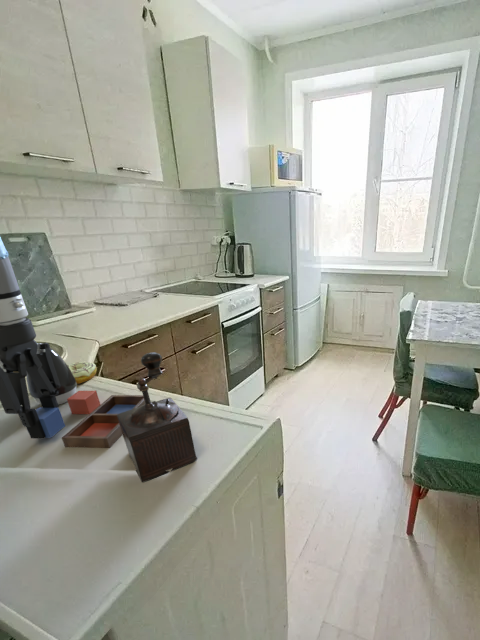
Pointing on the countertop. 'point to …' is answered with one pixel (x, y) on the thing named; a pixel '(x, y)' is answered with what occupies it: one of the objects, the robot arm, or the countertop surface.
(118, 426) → the tray
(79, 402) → the terracotta block
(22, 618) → the countertop surface
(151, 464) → the manual coffee grinder
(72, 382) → the black tapered dome
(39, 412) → the slate-blue block
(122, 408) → the blue tile
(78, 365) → the decorated donut
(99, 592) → the countertop surface
